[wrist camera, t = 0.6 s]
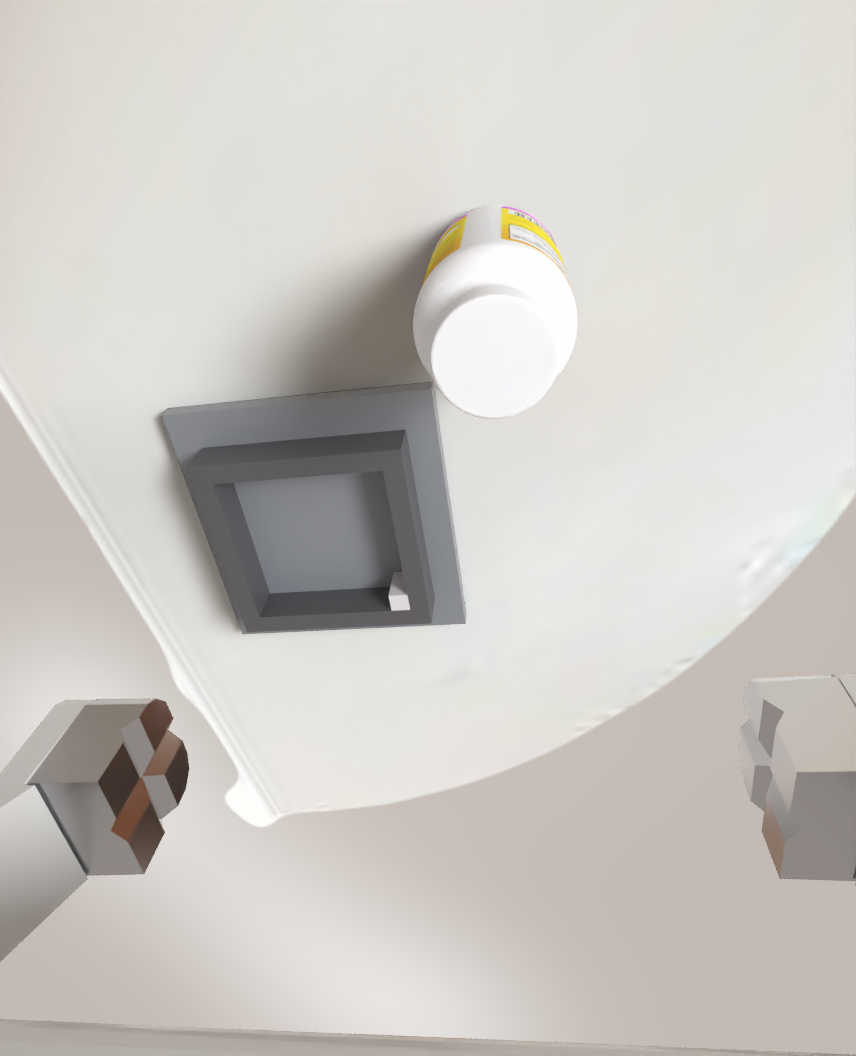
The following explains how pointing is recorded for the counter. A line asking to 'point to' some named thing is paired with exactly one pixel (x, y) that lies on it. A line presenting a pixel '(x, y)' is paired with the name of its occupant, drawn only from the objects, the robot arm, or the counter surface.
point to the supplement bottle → (495, 312)
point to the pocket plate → (325, 508)
